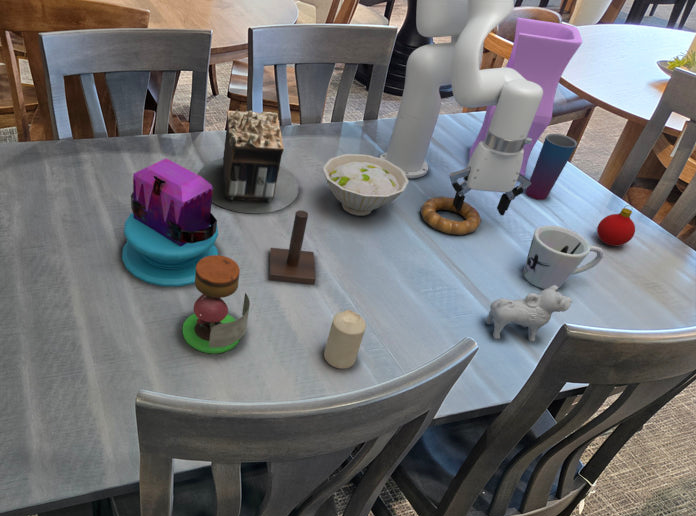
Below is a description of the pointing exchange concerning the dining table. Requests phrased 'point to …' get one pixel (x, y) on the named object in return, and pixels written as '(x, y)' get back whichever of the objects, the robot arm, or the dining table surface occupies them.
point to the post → (293, 257)
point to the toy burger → (215, 307)
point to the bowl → (364, 182)
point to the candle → (344, 339)
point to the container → (538, 70)
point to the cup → (550, 164)
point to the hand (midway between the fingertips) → (478, 210)
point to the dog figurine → (527, 310)
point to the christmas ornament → (616, 228)
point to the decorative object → (169, 225)
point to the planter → (251, 166)
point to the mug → (557, 256)
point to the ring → (446, 224)
